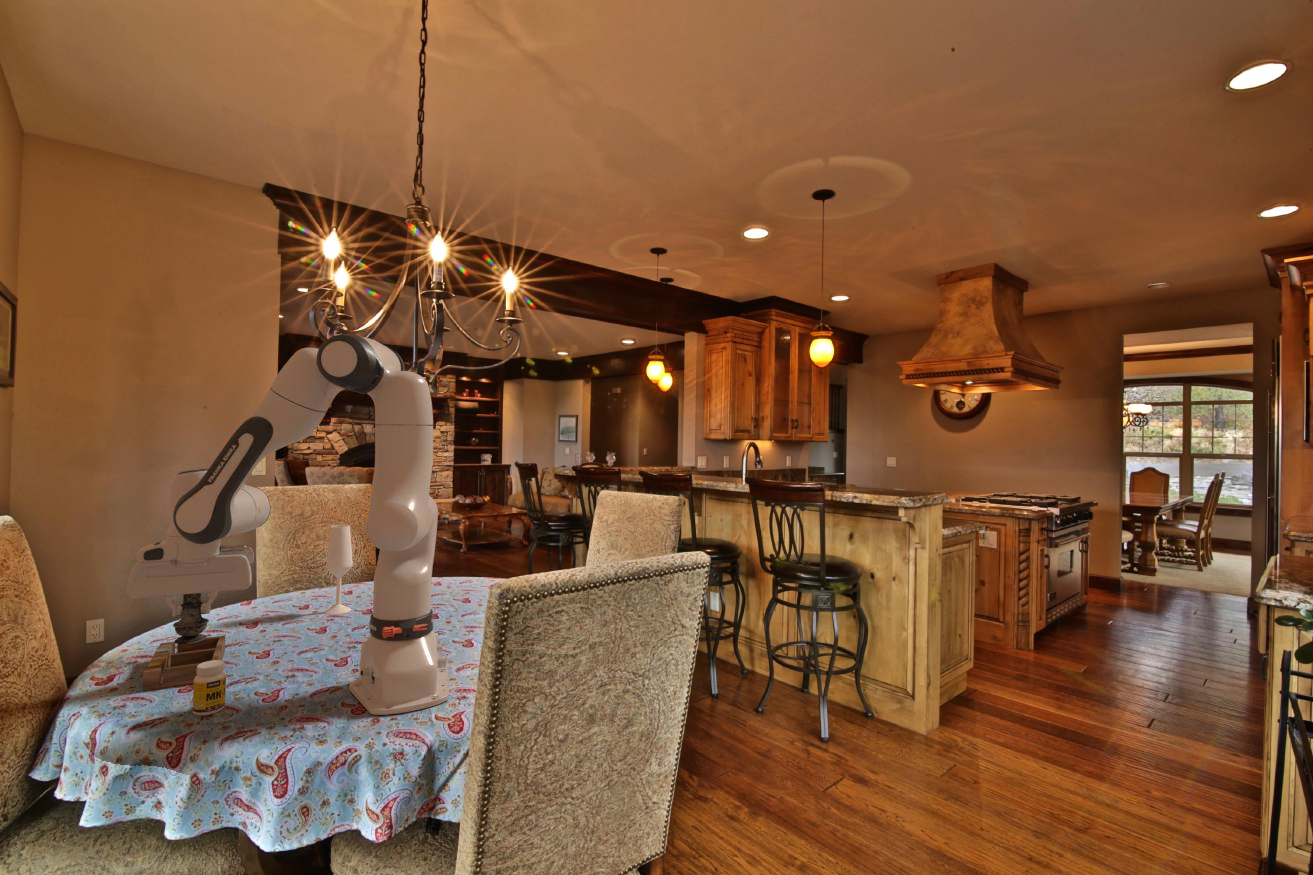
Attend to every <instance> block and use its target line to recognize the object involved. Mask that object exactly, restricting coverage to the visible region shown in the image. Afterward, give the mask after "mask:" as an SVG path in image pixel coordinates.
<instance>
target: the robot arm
mask: <svg viewBox="0 0 1313 875" xmlns="http://www.w3.org/2000/svg"><path fill="white" fill-rule="evenodd" d="M405 366H406V365H405V364H404V361H403V359H402V357H401V356H400V354H399V353H398V352H397V351H396V350H394V349H393V348H391V347H389V346H387V345H384V344H382V343H380V342H379V341H377V340H375V339H372V338H369V337H364V336H361V335H357V334H354V333H339V334H336V335H332V336H331V337H329V338H327V339H326V340H324V341H323V342H322V343H321V345H320V346H319V347H317V348H316V347H304V348H301V349H298V350H296V352H295V353H294V354H293V355H292V356H291V357H290V358H289V359H288V360H287V362H286V363H285V364H283V367H282V368H281V369H280V371H279V372H278V374H277V376H275V378H274V379H273V381H272V384H271V385H270V387H269V389H268V390H267V392H266V394H265V395H264V397H263V398H262V400H261V401H260V402H259V404H258V405H257V406H256V408H255V409H254V411H253V412H252V413H251V414H250V415H249V417H248V418H247V419H246V420H245V421H244V422H243V423H242V424H241V425H240V426H239V427H238V428H237V430H235V432H233V434H232V435H231V437H230V438H229V439H228V441H227V442H226V443H225V445H224V447H223V448H222V450H221V451H220V452H219V453H218V455H217V457H216V458H215V459H214V461H213V462H212V464H211V465H210V466H209V468H200V469H191V470H185V471H181V472H178V473H177V474H175V475H174V476H173V478H172V480H171V482H170V484H169V490H168V497H167V508H166V509H167V510H166V511H167V516H168V519H169V520H168V521H169V525H168V528H167V531H166V539H165V540H161V541H157V542H155V543H151V544H147V545H145V546H143V547H141V548H140V549H139V550H138V551H137V552H136V555H135V559H136V561H137V562H136V563H135V564H134V565H133V566H132V568H131V570H129V575H128V577H127V578H128V580H127V585H126V595H127V596H128V597H129V598H130V599H132V600H133V599H145V598H156V597H165V603H167V605H168V606H169V607H170V609H172V611H171V612H172V613H171V615H172V618H177V617H179V618H180V617H182V609H183V607H182V606H181V605H178V604H177V602H176V601H175V600H176V598H177V596H180V595H181V596H182V595H183V594H194V593H201V594H203V593H205V594H206V593H207V598H209V600H208V601H207V602H206V603H203V604H201V615H208V614H210V613H211V606H212V603H214V601H215V600H216V598H217V596H218V593H219V592H228V591H230V592H231V591H240V590H247V589H248V588H249V587H250V586H251V585H252V582H253V580H252V579H253V578H252V577H253V575H252V574H253V573H252V567H251V565H252V564H254V561H255V550H254V549H253V548H252V547H250V546H247V545H246V544H239V545H221V539H223V538H226V537H230V536H231V537H232V536H235V535H240V534H242V533H246V532H250V531H253V530H255V529H258V528H260V527H261V526H263V525H265V523H267V521H268V519H269V517H270V514H271V507H272V506H271V502H270V499H269V497H268V495H267V493H266V492H264V490H262V489H260V488H259V487H257V486H251V485H247V484H245V483H246V482H247V480H248V478H249V477H250V476H251V474H252V472H253V471H254V469H256V467H257V465H258V464H259V463H260V462H261V461H262V460H263V459H264V458H266V457H267V456H269V455H270V454H272V453H274V452H276V451H278V450H280V449H282V448H285V447H287V446H290V445H292V444H295V443H298V442H300V441H303V440H305V439H307V438H309V437H310V435H311V434H312V433H313V432H314V431H315V430H316V429H317V428H318V426H319V425H320V424H321V422H322V420H324V417H326V413H327V411H328V409H329V408H330V406H331V405H332V403H333V400H334V399H335V398H336V396H337V395H339V393H340V392H342V391H343V390H347V391H351V392H355V393H358V394H360V395H366V394H367V395H368V396H369V397H370V398H371V399H372V401H373V403H374V409H375V410H374V411H375V412H374V413H375V417H374V420H375V421H374V422H375V423H374V424H375V425H374V426H375V428H374V430H375V431H374V432H375V434H374V436H375V437H374V439H375V440H374V442H375V444H374V446H375V447H374V452H375V454H374V469H373V470H374V471H373V478H372V483H371V490H370V497H369V498H370V499H369V506H368V514H367V518H366V521H365V534H366V536H367V539H368V540H369V542H370V543H371V544H372V545H373V546H374V547H375V548H377V549H379V554H378V558H377V564H376V568H375V571H374V574H373V592H372V593H373V595H372V596H373V598H372V599H373V602H372V613H371V614H370V619H369V633H370V635H369V637H368V638H367V639H366V640H365V641H364V642H363V643H362V644H361V646H360V659H359V660H360V661H359V676H358V678H357V679H355V680H353V681H351V682H350V683H349V687H348V690H349V691H350V692H351V693H352V694H353V696H354V697H355V698H356V699H357V700H358V701H359V703H360V704H361V705H362V706H363V707H364V709H366V710H367V712H368V713H369V714H371V715H379V716H382V715H385V716H387V715H394V714H401V713H402V714H403V713H408V712H414V711H418V710H422V709H423V710H424V709H426V708H430V707H435V706H436V705H439V704H442V703H444V702H446V701H448V700H449V699H450V693H449V692H450V691H449V690H450V689H449V688H450V687H449V672H448V667H447V656H446V655H441V656H440V655H439V656H438V653H440V652H443V644H438V640H439V634H438V633H437V632H435V631H434V614H433V613H434V612H433V609H432V605H431V604H432V583H433V582H432V581H433V580H432V578H433V576H432V575H433V567H434V566H433V565H434V559H435V550H436V542H437V530H438V520H439V519H438V518H439V509H438V506H437V503H436V501H435V499H434V498H433V497H432V496H430V488H431V480H432V471H433V466H434V414H433V412H434V411H433V403H432V396H431V392H430V387H429V384H428V381H427V380H426V379H425V378H424V377H423V376H422V375H420V374H418V373H415V372H413V371H409V370H406V367H405Z"/></svg>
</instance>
